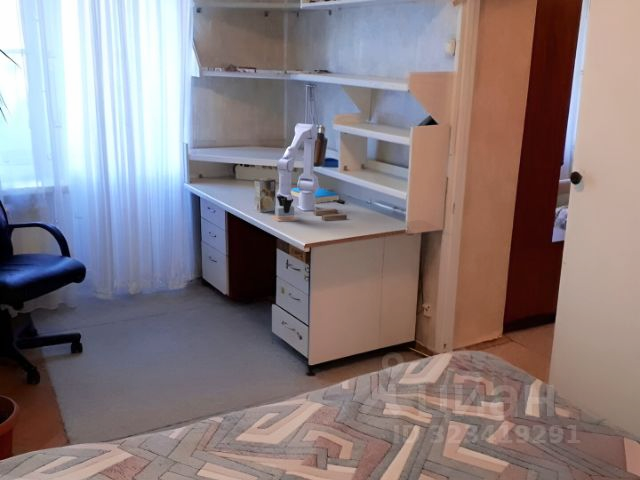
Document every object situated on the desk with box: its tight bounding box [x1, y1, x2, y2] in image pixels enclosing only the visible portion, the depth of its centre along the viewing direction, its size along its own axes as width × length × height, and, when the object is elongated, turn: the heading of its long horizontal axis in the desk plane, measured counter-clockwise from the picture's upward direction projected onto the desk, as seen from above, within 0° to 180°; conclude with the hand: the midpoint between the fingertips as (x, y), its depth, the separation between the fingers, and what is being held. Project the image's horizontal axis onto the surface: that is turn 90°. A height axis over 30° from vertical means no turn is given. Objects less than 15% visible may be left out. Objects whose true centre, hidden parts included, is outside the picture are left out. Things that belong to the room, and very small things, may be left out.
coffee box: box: [253, 177, 277, 213], centre depth 336 cm, size 9×6×16 cm
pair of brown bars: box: [313, 208, 348, 222], centre depth 329 cm, size 14×12×2 cm
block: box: [274, 205, 295, 217], centre depth 322 cm, size 5×8×4 cm, turn 112°
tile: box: [271, 214, 299, 223], centre depth 323 cm, size 10×10×1 cm
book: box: [291, 187, 341, 204], centre depth 371 cm, size 17×4×25 cm
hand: (284, 211), depth 322 cm, fingers closed on block, 5 cm apart
